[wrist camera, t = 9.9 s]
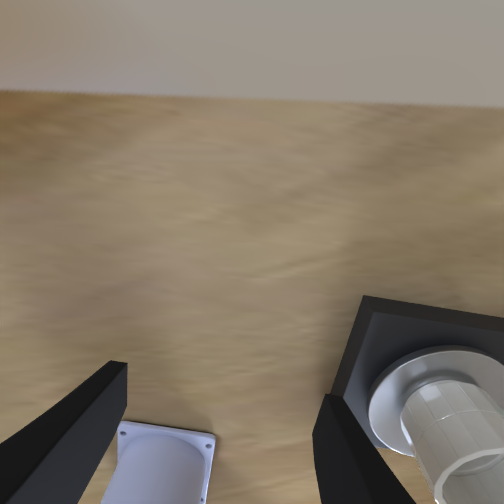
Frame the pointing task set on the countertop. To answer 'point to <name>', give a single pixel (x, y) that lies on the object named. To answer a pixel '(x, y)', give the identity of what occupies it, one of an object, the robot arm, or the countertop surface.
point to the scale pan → (422, 373)
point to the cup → (457, 441)
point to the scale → (404, 344)
